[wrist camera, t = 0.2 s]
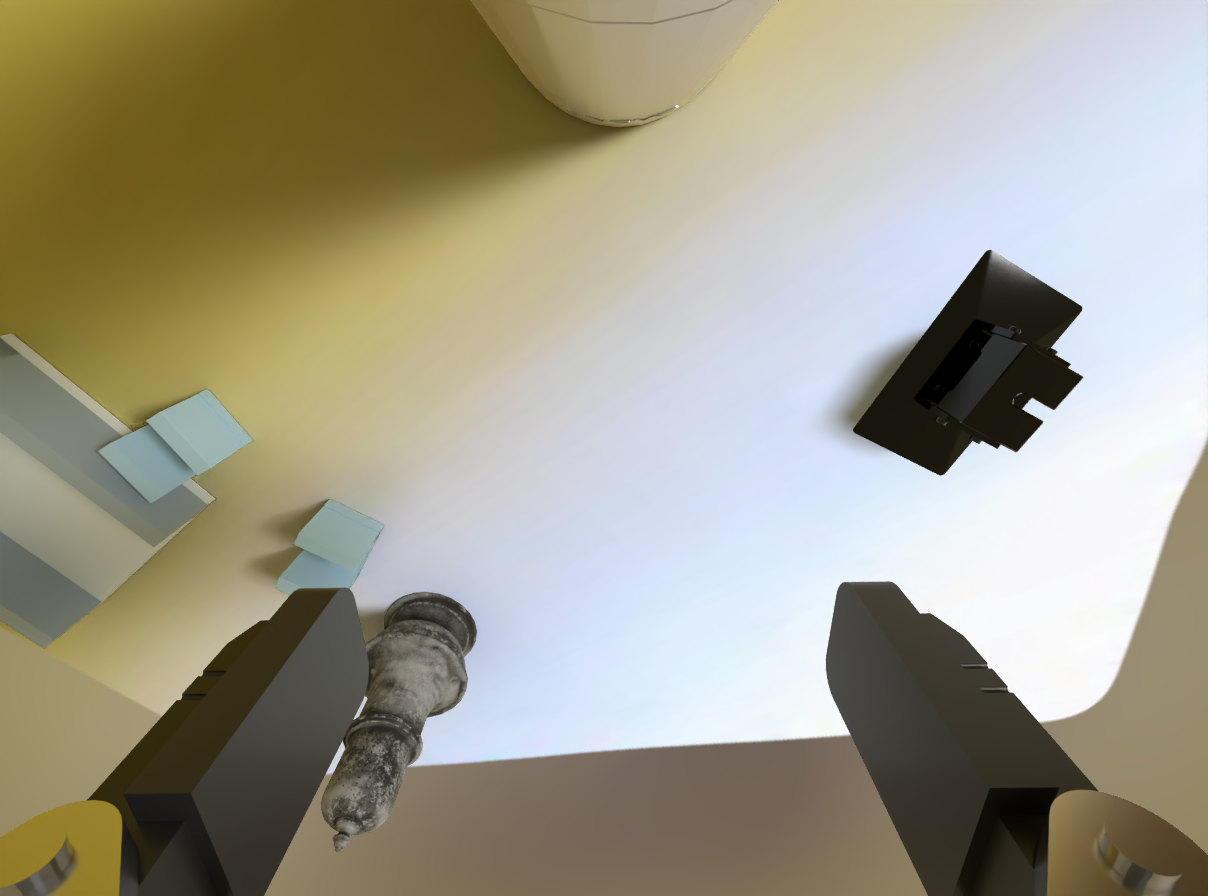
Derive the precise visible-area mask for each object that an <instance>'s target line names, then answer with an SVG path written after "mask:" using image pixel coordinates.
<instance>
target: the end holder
mask: <svg viewBox="0 0 1208 896" xmlns="http://www.w3.org/2000/svg"><path fill="white" fill-rule="evenodd" d="M132 432H133V431H132V430H130V429H129V428H128V427H127V426H125V425H124V424H123V423H122V422H120V421H119V420H118V419H117V418H116V417H114V416H113V415H112V414H111V413H109V412H108V411H107V410H106V409H104V408H103V407H102V406H101V405H100V404H98V403H97V402H96V401H95V400H93V399H92V398H91V397H90V396H89V395H87V394H86V393H85V392H84V391H82V390H81V389H80V388H79V387H77V386H76V385H75V384H74V383H73V382H71V381H70V380H69V379H68V378H66V377H65V376H64V375H63V374H61V373H60V372H59V371H58V370H57V369H55V368H54V367H53V366H52V365H50V364H49V363H48V362H47V361H45V360H44V359H43V358H42V357H41V356H39V355H38V354H37V353H36V352H34V351H33V350H32V349H31V348H29V347H28V346H27V345H26V344H25V343H23V342H22V341H21V340H20V339H18V338H17V337H16V336H15V335H14V334H12V333H11V334H6V335H2V336H0V621H1V622H3V623H5V624H6V625H8V626H9V627H11V628H12V629H14V630H15V631H17V632H19V633H20V634H22V635H23V636H25V637H26V638H28V639H30V640H31V641H33V642H34V643H36V644H37V645H39V646H40V647H42V648H44V649H45V648H46V647H47V646H49V645H50V644H51V643H52V642H54V641H55V640H56V639H57V638H59V637H60V636H61V635H62V634H64V633H65V632H66V631H67V630H69V629H70V628H71V627H72V626H74V625H75V624H76V623H78V622H79V621H80V620H81V619H83V618H84V617H85V616H86V615H88V614H89V613H90V612H91V611H93V610H94V609H95V608H96V607H98V606H99V605H100V604H101V603H103V602H104V601H105V600H106V599H107V598H108V597H109V596H110V595H111V594H112V593H113V592H115V591H116V590H117V589H118V588H119V587H120V586H121V585H122V584H123V583H124V582H125V581H126V580H128V579H129V578H130V577H131V576H132V575H133V574H134V573H135V572H136V571H137V570H138V569H140V568H141V567H142V566H143V565H144V564H145V563H146V562H147V561H148V560H149V559H150V558H152V557H153V556H154V555H155V554H156V553H157V552H158V551H159V550H160V549H161V548H162V547H164V546H165V545H166V544H167V543H168V542H169V541H170V540H171V539H172V538H173V537H174V536H176V535H177V534H178V533H179V532H180V531H181V530H182V529H183V528H184V527H185V526H186V525H188V524H189V523H190V522H191V521H192V520H193V519H194V518H195V517H196V516H197V515H198V514H199V513H201V512H202V511H203V510H204V509H205V508H206V507H207V506H208V505H209V504H210V503H211V502H213V501H214V500H215V498H214V497H213V496H211V495H210V494H209V493H208V492H207V491H205V490H204V489H203V488H202V487H200V486H199V485H198V484H197V483H195V482H194V481H193V480H192V479H191V478H190V479H188V480H187V481H185V482H184V483H182V484H181V485H179V486H178V487H176V488H175V489H173V490H172V491H170V492H168V493H167V494H165V495H164V496H162V497H161V498H159V499H157V500H156V501H154V502H152V503H150V502H149V501H148V500H147V499H146V498H145V497H144V496H143V495H142V494H141V493H140V492H139V491H138V490H137V489H136V488H135V487H134V486H132V485H131V484H130V483H129V482H128V481H127V480H126V479H125V478H124V477H123V476H122V475H121V474H120V473H119V472H118V471H117V470H116V469H115V468H114V467H113V466H112V465H111V464H110V463H109V462H108V461H107V460H106V459H105V458H104V457H103V456H102V455H101V454H100V453H99V452H98V451H99V450H100V449H102V448H103V447H105V446H107V445H108V444H110V443H112V442H114V441H116V440H118V439H120V438H122V437H124V436H126V435H128V434H130V433H132Z"/></svg>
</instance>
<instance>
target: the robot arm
mask: <svg viewBox="0 0 1208 896" xmlns="http://www.w3.org/2000/svg"><path fill="white" fill-rule="evenodd" d="M470 1H471V3H472V4H473V5H474V7H475V8H476V9H477V11H478V12H479V14H480V15H481V16H482V18H483V19H484V20H485V22H486V23H487V24H488V26H489V27H490V29H491V30H492V31H493V33H494V34H495V35H496V37H497V38H498V40H499V41H500V42H501V44H502V45H503V47H504V48H505V49H506V51H507V52H508V54H509V55H510V56H511V58H512V59H513V61H514V62H515V63H516V65H517V66H518V67H519V69H520V70H521V71H522V73H523V74H524V75H525V77H526V78H527V79H528V80H529V81H530V82H531V83H532V85H533V86H534V87H535V88H536V89H537V90H538V91H539V92H540V93H541V94H542V95H543V96H544V97H545V98H546V99H547V100H548V101H550V102H551V103H553V104H554V105H556V106H557V107H558V108H560V109H561V110H563V111H564V112H566V113H567V114H569V115H571V116H574V117H576V118H579V119H581V120H584V121H586V122H589V123H591V124H597V125H604V126H611V127H625V126H635V125H643V124H646V123H649V122H651V121H654V120H657V119H660V118H663V117H666V116H668V115H669V114H671V113H672V112H674V111H676V110H677V109H679V108H680V107H682V106H684V105H685V104H687V103H688V102H690V101H691V100H692V99H693V98H694V97H695V96H696V95H697V94H698V93H699V92H700V91H701V90H702V89H703V88H704V87H705V86H706V85H707V84H708V83H709V82H710V81H711V80H712V79H713V78H714V77H715V75H716V74H717V73H718V72H719V71H720V69H721V68H722V67H723V66H724V65H725V64H726V63H727V62H728V61H729V60H730V58H731V57H732V56H733V55H734V54H735V52H736V51H737V50H738V49H739V48H740V46H741V45H742V44H743V43H744V42H745V40H746V39H747V38H748V37H749V36H750V34H751V33H752V32H753V31H754V30H755V28H756V27H757V26H758V25H759V24H760V22H761V21H762V20H763V19H764V18H765V16H766V15H767V14H768V13H769V12H770V10H771V9H772V8H773V7H774V6H775V4H776V3H777V2H778V1H779V0H470ZM826 672H827V679H828V684H829V688H830V691H831V694H832V696H833V699H834V701H835V703H836V705H837V707H838V709H839V711H840V713H841V715H842V718H843V720H844V722H845V724H846V726H847V728H848V730H849V732H850V734H851V736H852V738H853V740H854V742H855V745H856V746H857V749H858V750H859V753H860V755H861V757H862V759H863V761H864V763H865V765H866V767H867V769H868V772H869V774H870V776H871V778H872V780H873V782H874V784H875V786H876V788H877V790H878V792H879V795H880V797H881V799H882V801H883V803H884V805H885V807H886V809H887V811H888V813H889V815H890V817H891V819H892V821H893V824H894V825H895V828H896V830H897V832H898V834H899V836H900V838H901V840H902V842H903V844H904V847H905V849H906V851H907V853H908V855H909V857H910V859H911V861H912V863H913V865H914V867H915V869H916V871H917V873H918V876H919V878H920V880H921V882H922V884H923V886H924V888H925V890H926V892H927V894H928V896H1208V855H1207V853H1206V852H1204V851H1203V850H1202V849H1201V848H1200V847H1199V846H1198V845H1197V844H1196V843H1195V842H1194V841H1193V840H1191V839H1190V838H1189V837H1188V836H1187V835H1185V834H1184V833H1183V832H1181V831H1180V830H1179V829H1178V828H1176V827H1175V826H1173V825H1172V824H1170V823H1169V822H1167V821H1166V820H1164V819H1163V818H1161V817H1160V816H1158V815H1156V814H1154V813H1153V812H1151V811H1149V810H1147V809H1146V808H1143V807H1141V806H1139V805H1137V804H1135V803H1133V802H1131V801H1128V800H1126V799H1123V798H1121V797H1118V796H1114V795H1111V794H1108V793H1104V792H1099V791H1098V790H1097V789H1096V788H1095V787H1094V786H1093V784H1092V783H1091V782H1090V781H1089V780H1088V778H1087V777H1086V776H1085V775H1084V774H1083V773H1082V772H1081V770H1080V769H1079V768H1078V767H1077V766H1076V765H1075V764H1074V762H1073V761H1072V760H1071V759H1070V758H1069V757H1068V755H1067V754H1066V753H1065V752H1064V751H1063V750H1062V749H1061V747H1060V746H1059V745H1058V744H1057V743H1056V742H1055V740H1054V739H1053V738H1052V737H1051V736H1050V735H1049V734H1048V732H1047V731H1046V730H1045V729H1044V728H1043V727H1042V726H1041V724H1040V723H1039V722H1038V721H1037V720H1036V719H1035V717H1034V716H1033V715H1032V714H1031V713H1030V712H1029V711H1028V709H1027V708H1026V707H1025V706H1024V705H1023V704H1022V703H1021V701H1020V700H1019V699H1018V698H1017V697H1016V696H1015V694H1014V693H1009V692H1008V689H1007V687H1008V686H1007V685H1006V684H1005V683H1004V682H1003V681H1002V679H1001V678H1000V677H999V676H998V675H997V674H996V673H995V671H994V670H993V669H989V668H988V666H987V662H986V661H985V660H984V659H983V658H982V656H981V655H980V654H979V653H978V652H977V651H976V650H975V648H974V647H973V646H972V645H971V644H970V643H969V642H968V640H967V639H966V638H965V637H964V636H963V635H962V634H960V633H959V632H957V631H956V630H954V629H953V628H951V627H950V626H948V625H947V624H945V623H944V622H943V621H941V620H940V619H938V618H937V617H935V616H934V615H932V614H931V613H927V614H920V613H919V612H918V611H917V609H916V608H915V607H914V606H913V604H912V603H911V602H910V601H909V599H908V598H907V597H906V596H905V595H904V593H903V592H902V591H901V590H900V588H899V587H898V586H897V585H896V584H894V583H893V582H844V583H842V584H841V585H840V586H839V588H838V591H837V595H836V601H835V607H834V613H833V619H832V625H831V631H830V637H829V642H828V648H827V655H826ZM368 677H369V662H368V656H367V652H366V647H365V643H364V638H363V634H362V629H361V625H360V620H359V616H358V611H357V607H356V602H355V598H354V595H353V593H352V592H351V590H350V589H349V588H299V589H297V590H295V591H294V592H293V593H292V594H291V595H290V596H289V597H288V599H287V600H286V601H285V602H284V603H283V604H282V606H281V607H280V608H279V609H278V610H277V612H276V613H275V614H274V615H273V616H272V618H271V619H270V620H265V621H260V622H258V623H257V624H255V625H254V626H252V627H251V628H249V629H248V630H247V631H245V632H244V633H242V634H241V635H239V636H238V637H236V638H235V639H233V640H232V641H231V642H229V643H228V644H227V645H226V646H225V647H224V648H223V649H222V650H221V651H220V653H219V654H218V655H217V656H216V657H215V658H214V659H213V660H212V661H211V663H210V664H209V665H208V666H207V667H206V668H205V669H204V670H203V675H202V676H198V677H197V678H196V679H195V680H194V682H193V683H192V684H191V685H190V686H189V687H188V688H187V689H186V690H185V692H184V693H183V694H182V699H181V700H177V701H176V702H175V703H174V704H173V705H172V706H171V707H170V708H169V709H168V711H167V712H166V713H165V714H164V715H163V716H162V717H161V718H160V720H159V721H158V722H157V723H156V724H155V725H154V726H153V727H152V728H151V730H150V731H149V732H148V733H147V734H146V735H145V736H144V737H143V739H142V740H141V741H140V742H139V743H138V744H137V745H136V746H135V747H134V749H133V750H132V751H131V752H130V753H129V754H128V755H127V757H126V758H125V759H124V760H123V761H122V762H121V763H120V764H119V765H118V766H117V768H116V769H115V770H114V771H113V772H112V773H111V774H110V775H109V776H108V778H107V779H106V780H105V781H104V782H103V783H102V784H101V785H100V786H99V788H98V789H97V790H96V791H95V792H94V793H93V795H92V796H91V797H89V799H88V800H87V801H80V802H75V803H70V804H67V805H64V806H61V807H57V808H55V809H52V810H50V811H48V812H45V813H42V814H40V815H38V816H36V817H34V818H32V819H30V820H28V821H26V822H25V823H23V824H21V825H19V826H18V827H16V828H14V829H13V830H11V831H10V832H8V833H7V834H5V835H4V836H2V837H1V838H0V896H264V895H265V893H266V891H267V889H268V887H269V884H270V883H271V880H272V879H273V877H274V875H275V873H276V871H277V869H278V867H279V865H280V863H281V861H282V859H283V857H284V855H285V853H286V851H287V849H288V847H289V845H290V843H291V841H292V839H293V837H294V835H295V833H296V831H297V829H298V827H299V825H300V823H301V821H302V819H303V817H304V816H305V814H306V811H307V809H308V807H309V806H310V804H311V802H312V799H313V798H314V796H315V794H316V792H317V790H318V788H319V786H320V784H321V782H322V780H323V778H324V776H325V774H326V772H327V770H328V768H329V766H330V764H331V762H332V760H333V758H334V756H335V754H336V752H337V750H338V748H339V746H340V744H341V742H342V740H343V738H344V737H345V735H346V733H347V731H348V729H349V727H350V725H351V723H352V721H353V719H354V717H355V715H356V713H357V711H358V709H359V707H360V705H361V703H362V701H363V698H364V696H365V692H366V689H367V684H368Z"/></svg>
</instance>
